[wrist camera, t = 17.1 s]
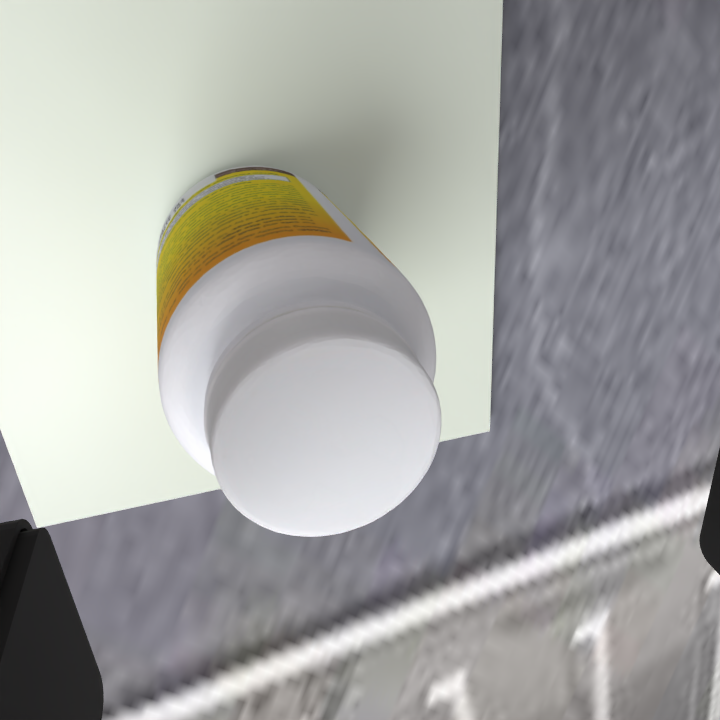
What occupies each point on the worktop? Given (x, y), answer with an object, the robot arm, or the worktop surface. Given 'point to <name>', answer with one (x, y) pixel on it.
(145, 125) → the sage mat
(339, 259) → the supplement bottle
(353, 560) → the worktop surface
